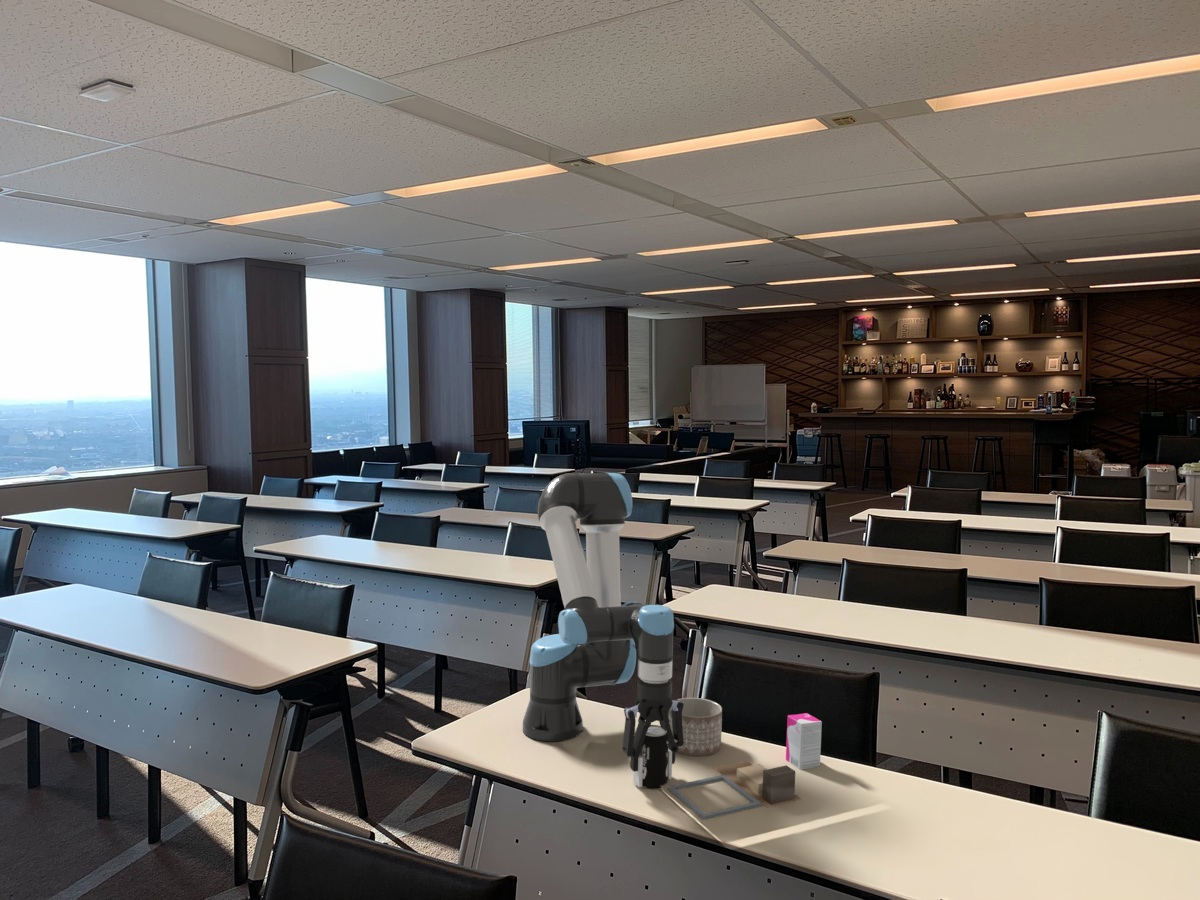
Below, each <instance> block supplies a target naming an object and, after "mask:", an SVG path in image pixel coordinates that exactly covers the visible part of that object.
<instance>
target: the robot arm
mask: <svg viewBox="0 0 1200 900" xmlns="http://www.w3.org/2000/svg"><path fill="white" fill-rule="evenodd" d="M537 504H538V505H537V518H538V522H539V525H540V528H541V529H542V530H544V531H545V534H546V538H547V542H548V547H549V550H550V554H551V558H552V559H551V560H552V561H553V562H552V563H553V566H554V567H553V568H554V570H555V575H556V580H557V582H558V586H559V587H558V588H559V591H560V594H561V600H562V604H563V607H564V609H563V610H561V611H560V612H559V614H558V618H557V619H558V620H557V624H558V625H557V627H558V633H556V634H555V633H554V634H550V635H545V636H543V637H540V638H538V639H537V640H536V641H534V642H533V643H532V645H531V648H530V656H529V665H530V666H529V667H530V669H529V701H528V705H527V708H526V711H525V713H524V716H523V718H522V732H523V734H524V735H525V736H526V737H528V738H530V739H532V740H537V741H544V742H560V741H561V742H562V741H567V740H571V739H574V738H576V737H578V736H580V735H581V734H582V732H583V725H584V724H583V722H584V721H583V718H582V714H581V710H580V707H579V704H578V701H577V689H578V688H586V687H599V686H609V685H610V686H615V685H617V684H624V683H627V682H629V680H631V678H632V676H633V674H634V672H635V669H636V664H637V672H636V673H637V683H636V685H637V687H636V688H637V689H636V691H637V693H636V695H637V700H636V703H635V705H634V706H632V707H629V706H628V707H625V708H624V709H623V713H624V718H625V721H624V730H623V739H622V747H621V749H622V752H623V753H624V754H625V755H626V756H628V757H630V760H629V761H630V763H629V764H630V770H632V772H633V774H632V775H633V777H632V778H633V779H632V780H633V782H632V783H634V785H636V786H637V787H638V788H642V787H643V786H642V772H643V757H642V756H641V755H640V752H641V749H642V746H643V743H644V739H645V737H646V734H647V731H648V728H649V727H650V726H651V725H652V723H653V722H656V721H657V722H659V726H661V728H662V729H664V730H665V731H666V730H667V735H668V737H669V742H668V780H672V779H673V777H672V774H673V773H672V772H673V771H672V770H673V765H674V764H675V762H676V753H677V751H678V748H677V747H679V746H683V744H684V742H683V725H682V710H683V706H684V704H683V703H682V702H680V701H679V700H677V699H678V698H675V699H674V700H673V699H672V695H673V680H672V679H671V678H673V659H674V658H673V655H674V654H673V653H674V631H675V630H674V629H675V621H674V612H673V609H672V608H670V606H669V607H668V606H666V605H661V604H646V605H645V604H644V603H642V602H639V601H636V600H629V601H627V602H624V603H623V604H622V603H621V602H622V601H621V599H622V597H621V595H622V594H621V561H620V559H621V557H620V556H621V554H620V531H621V530H622V528H623V527H624V526H626V525H625V524H626V523H625V521H626V520H625V519H627V518H628V517H630V516H631V515H632V513H633V512H632V511H633V510H632V509H633V495H632V491H631V487H630V485H629V483H628V480H627V479H626V477H625V476H624V475H623V474H621V473H619V472H617V473H616V472H606V471H605V472H585V473H579V472H578V473H574V472H571V473H570V472H569V473H567V472H566V473H564V474H563V473H562V474H560V475H559V476H558V475H557V476H556V477H555V478H553V479H552V480H551V481H550V482H548V484H546V486H545V488H543V491H542V492H541V495H540V497H539V499H538V503H537ZM577 520H579V526H580V527H581V528H582V529H583V530H584V532H585V541H586V542H585V543H586V545H585V547H586V549H585V550H586V556H585V553H584V550H583V546H582V542H581V539H580V535H579V532H578V528H577V524H576V523H577ZM635 641H636V642H637V649H636V643H635ZM670 708H671V709H672V726H673V734H672V731H671V727H670V724H669V722H670V721H669V710H670ZM638 714H639V716H638ZM636 718H637V722H638V724H637V727H636Z"/></svg>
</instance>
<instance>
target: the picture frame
mask: <svg viewBox="0 0 1200 900" xmlns="http://www.w3.org/2000/svg"><path fill="white" fill-rule="evenodd" d="M718 781H723V782H724V783H726V785H728V786H730V787H731V788H732V789H734V791H736V792H738V793H739V794H740V795H741V796H742V797H744V798H745V799H747V800H748V801H749V802H748V803H745V804H740V805H735V806H732V807H727V808H722V809H719V810H714V811H710V812H706V813H705V812H704V811H703V810H702V809H701V808H699V807H698V806H697V805H696V804H695V803H693V801H691V800H690V799H689V798H687V797H686V796H685V795H684V794H683V793H682V792H681V791H680V790H682V789H686V788H687V789H688V788H690V787H695V786H700V785H704V784H710V783H715V782H718ZM667 787H668V788H667V789H668V790H669V791H670V792H671V793H672V794H674V795H675V796H676V797H677V798H678V799H679V800H680V801H681V802H683V803H684V804H685V805H686V806H687V807H688V808H689V809H691V810H692V811H693V813H695V814H697V816H699V817H700V819H701V818H702V820H706V819H711V818H714V817H718V816H719V817H720V816H724V815H728V814H731V813H736V812H741V811H747V810H749V809H753V808H758V807H761V806H762V803H761V802H759V801H758V800H757V799H755V798H754V797H753V796H751V795H750V794H749V793H747V792H746V791H745V790H743V789H742V788H741V787H739V786H738V785H737V784H735V783H734V782H733V781H731V780H730V779H729V778H727V777H726V776H725V775H722V774H720V775H715V776H711V777H710V776H709V777H706V778H702V779H701V778H700V779H696V780H692V781H688V782H682V783H679V784H674V785H668V786H667Z"/></svg>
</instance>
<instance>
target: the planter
mask: <svg viewBox="0 0 1200 900" xmlns="http://www.w3.org/2000/svg"><path fill="white" fill-rule="evenodd" d="M676 699H677V700H679V701H680V702H682V703H683V704H684V706H683V710H682V725H683V742H684V744H683V746H679V747H677V748H678V751H677V752H676V753H678V754H680V755H684V756H690V757H707V756H712V755H715V754H717V753H718V752H719V751H720V750H721V749H722V729H723V728H722V725H723V723H722V722H723V718H722V717H723V707H722V706H721V705H720V704H719V703H717V702H716V701H713V700H711V699H706V698H701V697H700V698H699V697H683V698H676ZM668 718H669V721H670V722H669V724H670V727H671V731H672V734H673V726H672V709H671V708H670V710H669V711H668Z"/></svg>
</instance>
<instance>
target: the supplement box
mask: <svg viewBox="0 0 1200 900" xmlns="http://www.w3.org/2000/svg"><path fill="white" fill-rule="evenodd" d="M786 720H787V721H786V723H787V725H786V727H787V728H786V741H785V744H786V747H785V761H786V762H788V763H790V765H792V766H793V767H795V768H796V769H798V770H805V769H806V770H807V769H811V768H817V767H820V766H821V750H822V749H821V748H822V725H823V724H822V723H823V722H822V720H820V719H818V718H817V717H815V716H813V715H811V714H809V713H808V712H806V713H798V714H788V715H787V719H786Z"/></svg>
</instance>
